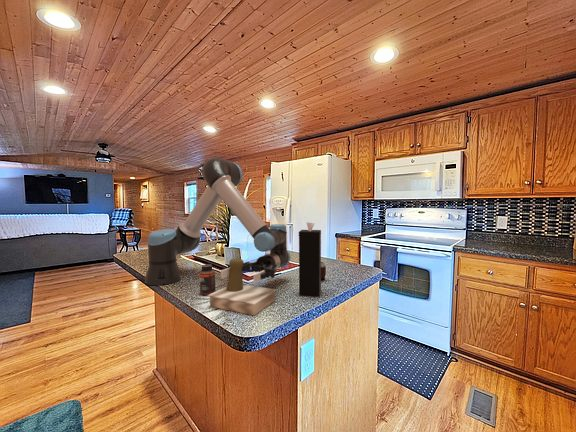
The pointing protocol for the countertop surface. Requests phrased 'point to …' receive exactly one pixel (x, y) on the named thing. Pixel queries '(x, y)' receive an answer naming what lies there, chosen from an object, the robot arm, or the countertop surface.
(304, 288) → the tissue box
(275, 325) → the countertop surface
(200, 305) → the countertop surface
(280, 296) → the countertop surface
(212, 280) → the supplement bottle
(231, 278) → the cork
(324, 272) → the mate gourd
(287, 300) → the countertop surface
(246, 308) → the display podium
